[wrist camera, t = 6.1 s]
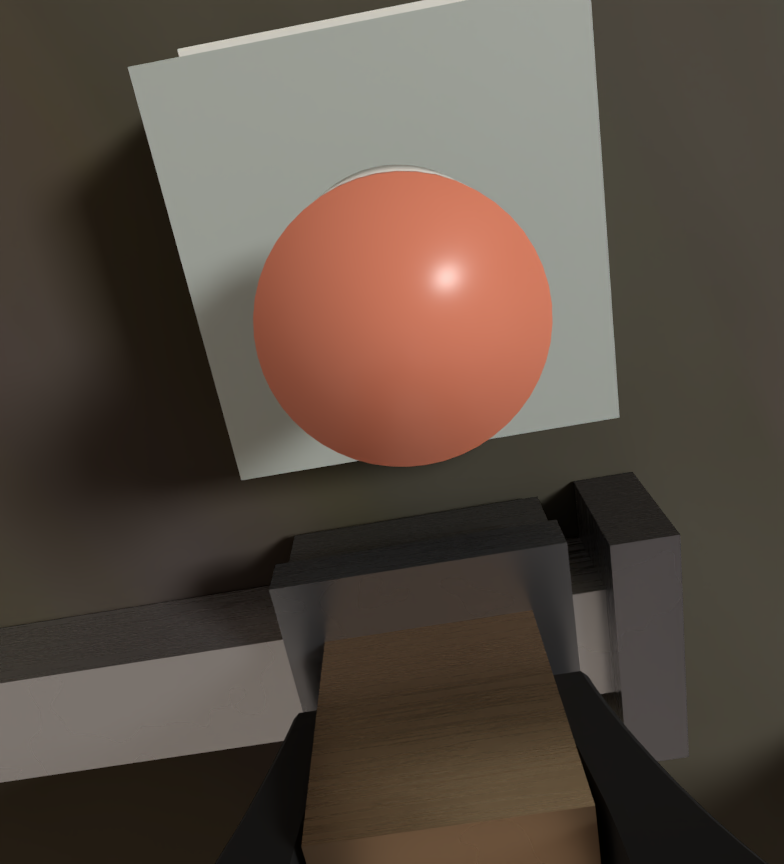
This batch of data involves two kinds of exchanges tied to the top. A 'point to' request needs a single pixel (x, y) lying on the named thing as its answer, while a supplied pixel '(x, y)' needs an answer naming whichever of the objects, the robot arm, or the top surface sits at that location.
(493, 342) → the orange and white dome
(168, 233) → the top surface
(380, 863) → the carriage
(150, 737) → the rail
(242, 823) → the robot arm
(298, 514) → the top surface
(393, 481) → the top surface
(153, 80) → the grey square block
